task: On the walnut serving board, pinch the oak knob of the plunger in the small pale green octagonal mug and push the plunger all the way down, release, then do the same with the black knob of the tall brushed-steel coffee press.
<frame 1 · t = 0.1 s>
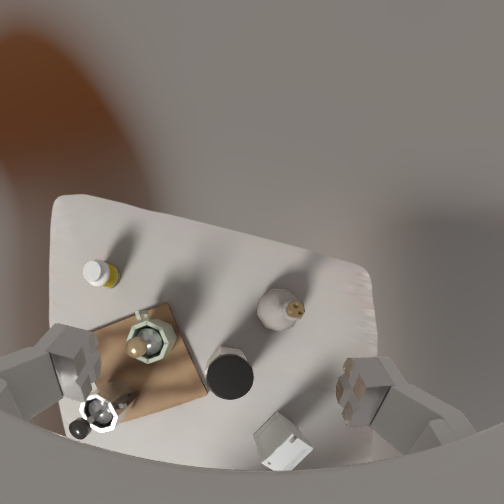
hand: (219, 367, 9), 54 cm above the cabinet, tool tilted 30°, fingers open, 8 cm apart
steel press: (119, 395, 55), resting on serving board
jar: (228, 365, 60), on the cabinet
supplement bottle: (109, 276, 61), on the cabinet
steel plunger: (90, 420, 39), point 18 cm above the cabinet, slide at 0.0 cm
serving board: (139, 366, 58), on the cabinet
pale green octagonal mug: (158, 337, 59), resting on serving board
skincare box: (274, 428, 59), on the cabinet
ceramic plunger: (142, 344, 46), point 14 cm above the cabinet, slide at 0.0 cm
potion bottle: (276, 309, 64), on the cabinet
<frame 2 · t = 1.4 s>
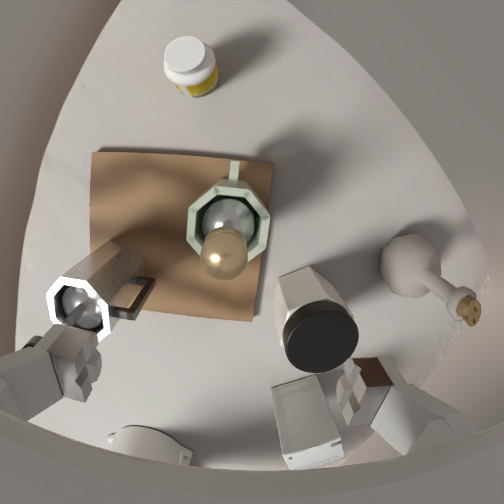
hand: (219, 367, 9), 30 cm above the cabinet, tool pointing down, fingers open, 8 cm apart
steel press: (119, 267, 38), resting on serving board
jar: (301, 295, 42), on the cabinet
supplement bottle: (197, 78, 33), on the cabinet
steel plunger: (60, 332, 22), point 18 cm above the cabinet, slide at 0.0 cm
serving board: (172, 237, 38), on the cabinet
pale green octagonal mug: (230, 209, 36), resting on serving board
skincare box: (297, 390, 47), on the cabinet
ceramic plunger: (226, 237, 24), point 14 cm above the cabinet, slide at 0.0 cm
potion bottle: (399, 257, 41), on the cabinet
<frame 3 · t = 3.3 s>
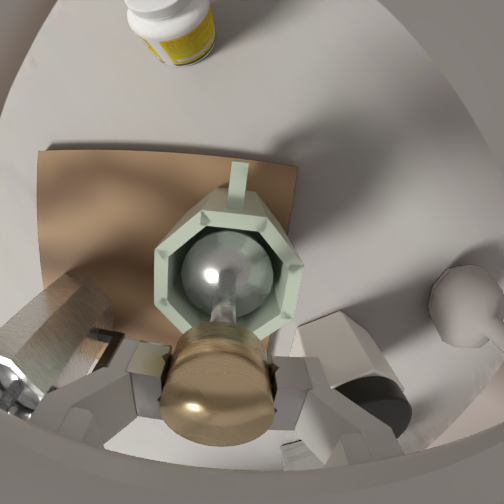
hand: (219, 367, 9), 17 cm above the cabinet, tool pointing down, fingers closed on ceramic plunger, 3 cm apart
steel press: (80, 309, 26), resting on serving board
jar: (327, 346, 30), on the cabinet
supplement bottle: (184, 41, 20), on the cabinet
serving board: (148, 271, 26), on the cabinet
pale green octagonal mug: (230, 234, 24), resting on serving board
skincare box: (312, 445, 35), on the cabinet
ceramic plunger: (223, 319, 12), point 14 cm above the cabinet, slide at 0.0 cm, touching gripper
potion bottle: (450, 292, 29), on the cabinet
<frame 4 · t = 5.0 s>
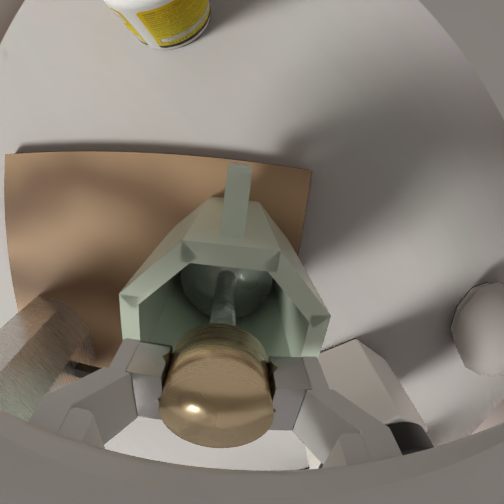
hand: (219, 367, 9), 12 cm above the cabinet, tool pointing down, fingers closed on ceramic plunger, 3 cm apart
steel press: (58, 335, 21), resting on serving board
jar: (339, 376, 25), on the cabinet
supplement bottle: (173, 20, 16), on the cabinet
serving board: (132, 295, 22), on the cabinet
pale green octagonal mug: (228, 254, 20), resting on serving board
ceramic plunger: (222, 320, 12), point 10 cm above the cabinet, slide at 4.8 cm, touching gripper
potion bottle: (474, 312, 24), on the cabinet
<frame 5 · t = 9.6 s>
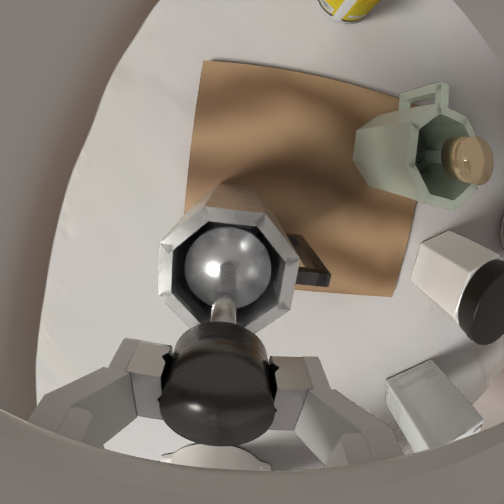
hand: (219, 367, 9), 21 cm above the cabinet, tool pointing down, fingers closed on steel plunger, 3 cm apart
steel press: (232, 223, 28), resting on serving board
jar: (437, 264, 32), on the cabinet
supplement bottle: (340, 5, 23), on the cabinet
steel plunger: (223, 313, 12), point 18 cm above the cabinet, slide at 0.0 cm, touching gripper
serving board: (310, 184, 28), on the cabinet
pale green octagonal mug: (387, 153, 26), resting on serving board
skincare box: (409, 379, 38), on the cabinet
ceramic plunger: (435, 156, 19), point 10 cm above the cabinet, slide at 4.8 cm
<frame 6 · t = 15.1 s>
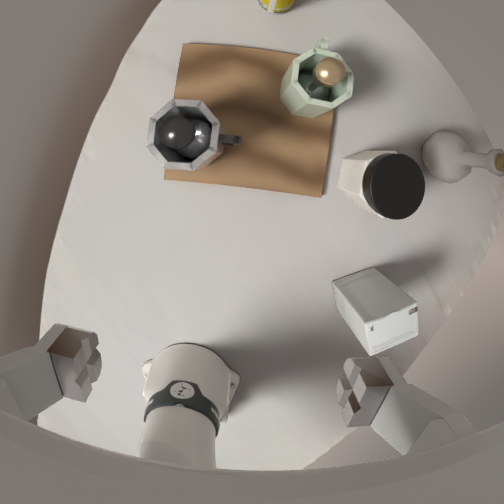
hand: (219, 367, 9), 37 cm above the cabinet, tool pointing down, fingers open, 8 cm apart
steel press: (198, 140, 40), resting on serving board
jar: (361, 178, 44), on the cabinet
supplement bottle: (275, 2, 35), on the cabinet
steel plunger: (185, 135, 30), point 12 cm above the cabinet, slide at 5.6 cm
serving board: (252, 116, 41), on the cabinet
pale green octagonal mug: (305, 93, 39), resting on serving board
skincare box: (355, 286, 50), on the cabinet
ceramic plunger: (319, 80, 31), point 10 cm above the cabinet, slide at 4.8 cm
potion bottle: (436, 155, 43), on the cabinet
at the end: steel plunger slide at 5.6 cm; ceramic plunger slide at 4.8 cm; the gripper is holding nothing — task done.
